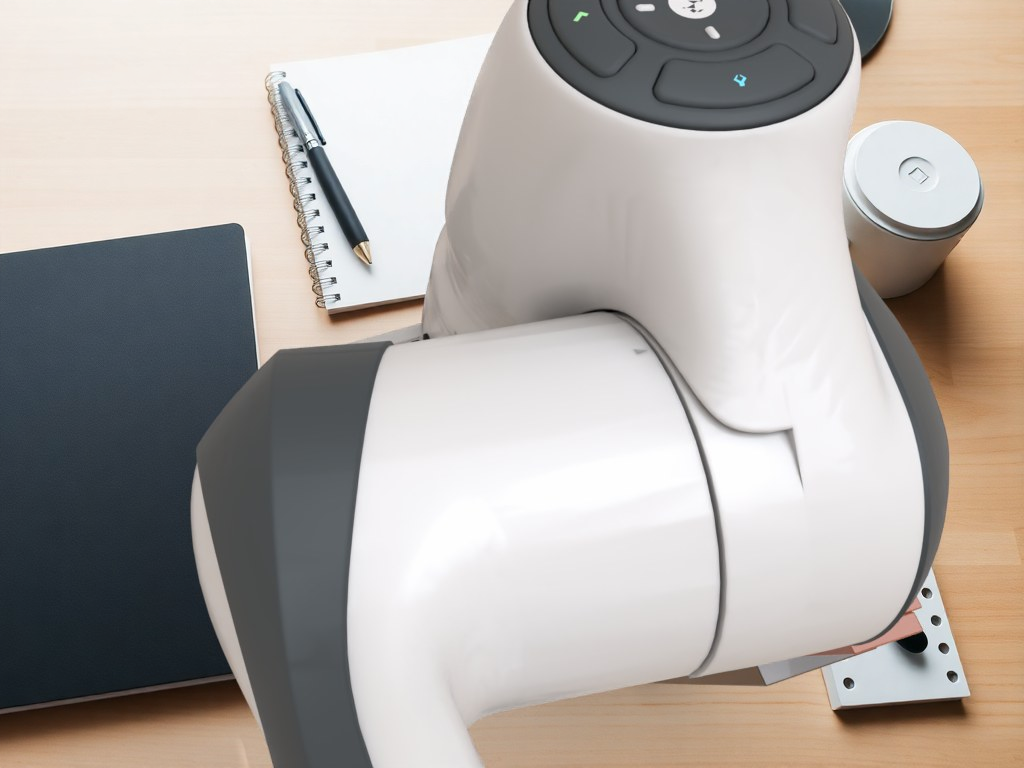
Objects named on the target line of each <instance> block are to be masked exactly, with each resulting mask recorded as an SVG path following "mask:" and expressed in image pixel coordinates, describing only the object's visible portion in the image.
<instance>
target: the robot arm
mask: <svg viewBox="0 0 1024 768" xmlns="http://www.w3.org/2000/svg"><path fill="white" fill-rule="evenodd" d="M860 48H861V47H860V43H859V40H858V36H857V32H856V31H855V27H854V26H853V23H852V21H851V18H850V17H849V15H848V13H847V12H846V10H845V8H844V7H843V5H842V3H841V2H840V0H514V1H513V2H512V4H511V5H510V7H509V8H508V10H507V12H506V13H505V15H504V17H503V18H502V21H501V22H500V25H499V26H498V28H497V30H496V32H495V35H494V37H493V39H492V41H491V43H490V46H489V47H488V50H487V52H486V55H485V57H484V59H483V62H482V64H481V67H480V70H479V72H478V75H477V77H476V80H475V83H474V85H473V88H472V92H471V94H470V97H469V100H468V104H467V106H466V110H465V113H464V116H463V120H462V121H461V126H460V130H459V133H458V138H457V141H456V144H455V149H454V153H453V157H452V161H451V165H450V169H449V175H448V179H447V185H446V190H445V191H446V192H445V199H444V218H445V222H444V224H443V226H442V228H441V230H440V232H439V236H438V238H437V240H436V244H435V247H434V251H433V255H432V260H431V266H430V271H429V277H428V282H427V285H426V290H425V295H424V301H423V306H422V312H421V318H420V319H421V320H420V321H421V322H420V323H416V324H414V325H409V326H404V327H402V328H398V329H395V330H391V331H387V332H384V333H380V334H376V335H373V336H369V337H367V338H362V339H359V340H356V341H353V342H349V343H345V344H331V345H330V344H329V345H319V346H305V347H294V348H280V349H278V350H277V351H276V352H275V353H274V354H273V355H272V356H271V357H269V359H267V361H266V362H265V363H263V365H261V366H260V367H259V368H258V369H257V370H256V371H255V372H254V373H253V375H251V376H250V377H249V379H247V381H246V382H245V383H244V384H243V385H242V386H241V388H239V390H238V391H237V392H236V393H235V394H234V395H233V396H232V397H231V399H230V400H229V401H228V402H227V403H226V405H225V406H224V407H223V408H222V410H221V411H220V413H219V414H218V415H217V416H216V418H215V419H214V420H213V422H212V423H211V424H210V425H209V427H208V429H207V430H206V431H205V433H204V434H203V436H202V438H201V439H200V441H199V442H198V444H197V445H196V448H195V456H196V465H195V469H194V474H193V479H192V484H191V494H190V495H191V496H190V529H191V539H192V549H193V554H194V560H195V565H196V572H197V577H198V580H199V585H200V588H201V592H202V595H203V599H204V603H205V605H206V609H207V612H208V615H209V618H210V622H211V624H212V627H213V629H214V632H215V635H216V637H217V639H218V642H219V644H220V647H221V650H222V652H223V654H224V656H225V659H226V661H227V663H228V665H229V667H230V669H231V672H232V674H233V676H234V678H235V680H236V682H237V684H238V686H239V688H240V690H241V693H242V695H243V697H244V699H245V701H246V703H247V705H248V706H249V709H250V711H251V713H252V715H253V717H254V719H255V721H256V723H257V726H258V728H259V730H260V732H261V734H262V737H263V740H264V741H265V744H266V745H267V750H268V752H269V756H270V760H271V764H272V768H486V766H485V764H484V761H483V760H482V757H481V755H480V753H479V751H478V749H477V747H476V744H475V743H474V740H473V738H472V736H471V734H470V732H469V729H468V728H470V726H472V725H474V724H475V723H477V722H478V721H480V720H482V719H484V718H487V717H489V716H493V715H495V714H499V713H503V712H507V711H513V710H517V709H522V708H528V707H533V706H538V705H543V704H548V703H553V702H558V701H559V702H560V701H563V700H569V699H575V698H581V697H584V696H588V695H589V696H590V695H595V694H599V693H605V692H610V691H616V690H619V689H626V688H631V687H637V686H640V685H645V684H647V683H651V682H656V681H662V680H667V679H672V678H677V677H682V676H687V675H689V679H690V678H696V677H702V676H705V675H710V674H715V673H721V672H726V671H733V670H738V669H743V668H748V667H754V666H759V665H764V664H769V663H773V662H778V661H783V660H787V659H792V658H797V657H801V656H806V655H810V654H815V653H820V652H824V651H829V650H833V649H837V648H841V647H845V646H857V645H863V644H867V643H870V642H872V641H875V640H877V639H878V638H880V637H882V636H883V635H885V634H886V633H887V632H888V631H890V630H891V629H892V628H893V627H894V626H895V625H896V624H897V623H898V621H899V620H900V619H901V618H902V616H903V615H904V614H905V612H906V611H907V610H908V608H909V607H910V606H911V604H912V603H913V602H914V600H915V598H916V597H917V598H918V595H919V593H920V592H921V589H922V588H923V586H924V584H925V582H926V580H927V578H928V577H929V574H930V571H931V568H932V567H933V563H934V560H935V558H936V556H937V553H938V550H939V547H940V543H941V540H942V535H943V531H944V527H945V522H946V515H947V509H948V501H949V493H950V447H949V439H948V433H947V429H946V425H945V421H944V418H943V415H942V411H941V409H940V406H939V403H938V400H937V397H936V394H935V392H934V388H933V386H932V384H931V381H930V378H929V376H928V373H927V371H926V369H925V367H924V364H923V362H922V360H921V357H920V355H919V354H918V351H917V350H916V348H915V346H914V345H913V343H912V341H911V340H910V338H909V336H908V334H907V333H906V331H905V329H904V328H903V327H902V325H901V323H900V322H899V321H898V318H897V317H896V316H895V314H894V313H893V312H892V311H891V309H890V308H889V307H888V305H887V304H886V303H885V301H884V300H883V299H882V298H881V297H880V295H879V293H878V292H877V291H876V290H875V288H874V287H873V285H872V284H871V283H870V281H869V280H868V279H867V278H866V276H865V275H864V274H863V272H862V271H861V270H860V268H859V267H858V265H857V264H856V263H855V261H854V260H853V258H852V257H851V253H850V248H849V242H848V236H847V230H846V225H845V217H844V206H843V205H844V204H843V203H844V201H843V186H844V185H843V184H844V169H845V163H846V156H847V150H848V145H849V140H850V136H851V131H852V127H853V123H854V118H855V115H856V111H857V107H858V102H859V96H860V87H861V80H862V55H861V49H860Z"/></svg>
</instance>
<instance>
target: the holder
mask: <svg viewBox="0 0 1024 768" xmlns="http://www.w3.org/2000/svg"><path fill="white" fill-rule="evenodd" d="M922 608H923V605H922V604H921V602H920V599H919V598H918V596H917V597H916V598H915V600H914V602H913V603H912V604H911V606H910V607H909V608H908V610H907V611H906V612H905V614H904V615H903V616H902V618H901V619H900V620H899V621H898V623H897V624H896V625H895V626H894V627H893V628H892V629H891V630H890V631H888V632H887V633H886V634H885V635H883V636H882V637H880V638H878V639H877V640H875V641H872V642H870V643H867V644H863V645H857V646H845V647H841V648H837V649H833V650H829V651H824V652H820V653H815V654H810V655H806V656H801V657H797V658H792V659H787V660H783V661H778V662H773V663H769V664H764V665H759V666H754V667H748V668H743V669H738V670H733V671H726V672H721V673H715V674H710V675H705V676H702V677H696V678H690V679H689V675H687V676H682V677H677V678H672V679H667V680H662V681H656V682H651V683H646V684H649V685H650V684H651V685H652V684H653V685H657V684H658V685H692V686H693V685H695V686H731V687H732V686H733V687H769V686H772V685H775V684H778V683H781V682H784V681H786V680H789V679H792V678H796V677H799V676H801V675H804V674H807V673H811V672H813V671H815V670H819V669H821V668H824V667H827V666H830V665H833V664H836V663H839V662H842V661H844V660H848V659H850V658H854V657H857V656H859V655H863V654H865V653H868V652H870V651H873V650H877V649H878V648H879V647H882V646H885V645H888V644H890V643H894V642H896V641H899V640H902V639H905V638H908V637H911V636H913V635H914V636H915V635H917V634H920V633H922V632H923V631H924V629H923V626H922V624H921V623H920V621H919V619H918V617H917V614H916V613H915V612H914V611H917V610H920V609H922Z"/></svg>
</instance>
